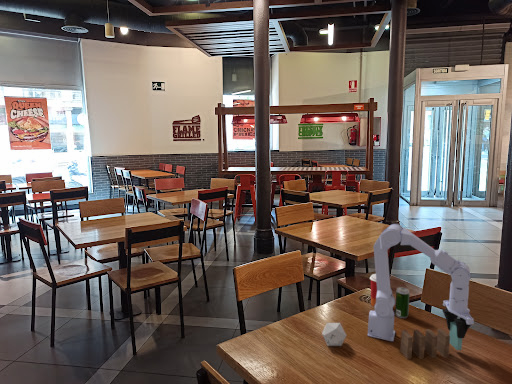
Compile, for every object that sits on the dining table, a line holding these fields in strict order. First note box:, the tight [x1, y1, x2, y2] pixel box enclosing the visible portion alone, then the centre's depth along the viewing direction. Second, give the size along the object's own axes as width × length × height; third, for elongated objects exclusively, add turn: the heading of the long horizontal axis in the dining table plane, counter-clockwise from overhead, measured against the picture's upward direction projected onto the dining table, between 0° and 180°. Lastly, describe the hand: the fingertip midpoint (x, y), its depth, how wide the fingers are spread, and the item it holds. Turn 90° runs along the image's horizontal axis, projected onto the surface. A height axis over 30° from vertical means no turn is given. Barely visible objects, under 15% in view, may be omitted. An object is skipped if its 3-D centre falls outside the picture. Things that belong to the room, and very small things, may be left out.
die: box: [321, 322, 347, 347], centre depth 136 cm, size 8×9×10 cm
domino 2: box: [412, 329, 425, 359], centre depth 129 cm, size 2×5×8 cm, turn 4°
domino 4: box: [436, 328, 451, 358], centre depth 129 cm, size 2×5×8 cm, turn 4°
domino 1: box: [400, 329, 413, 360], centre depth 129 cm, size 2×5×8 cm, turn 3°
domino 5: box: [448, 322, 463, 351], centre depth 129 cm, size 2×5×8 cm, turn 4°
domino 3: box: [424, 328, 438, 359], centre depth 129 cm, size 2×5×8 cm, turn 4°
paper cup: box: [369, 273, 377, 308], centre depth 167 cm, size 8×8×14 cm
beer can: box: [394, 286, 410, 319], centre depth 157 cm, size 5×5×12 cm
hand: (455, 333), depth 129 cm, fingers closed on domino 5, 5 cm apart
